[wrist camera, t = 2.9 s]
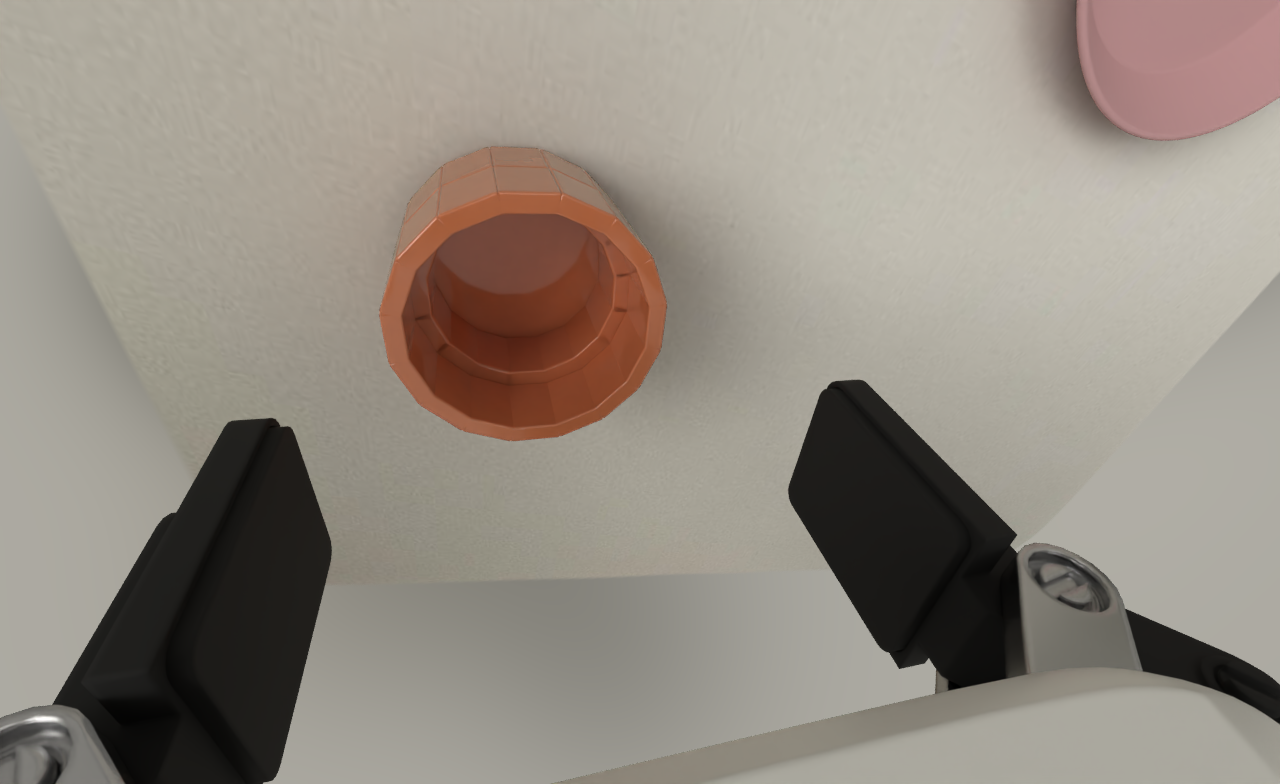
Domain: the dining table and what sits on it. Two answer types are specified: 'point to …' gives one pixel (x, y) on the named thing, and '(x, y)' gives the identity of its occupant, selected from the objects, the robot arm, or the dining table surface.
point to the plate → (1179, 62)
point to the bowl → (520, 297)
